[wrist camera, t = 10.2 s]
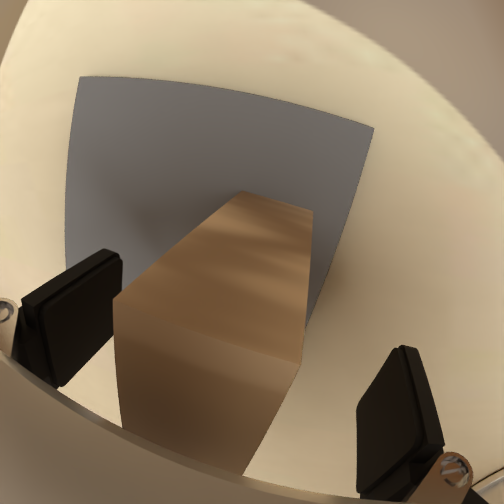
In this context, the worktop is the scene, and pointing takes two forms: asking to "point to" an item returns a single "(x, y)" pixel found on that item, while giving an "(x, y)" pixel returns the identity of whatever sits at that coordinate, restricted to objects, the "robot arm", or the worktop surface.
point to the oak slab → (216, 332)
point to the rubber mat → (199, 167)
